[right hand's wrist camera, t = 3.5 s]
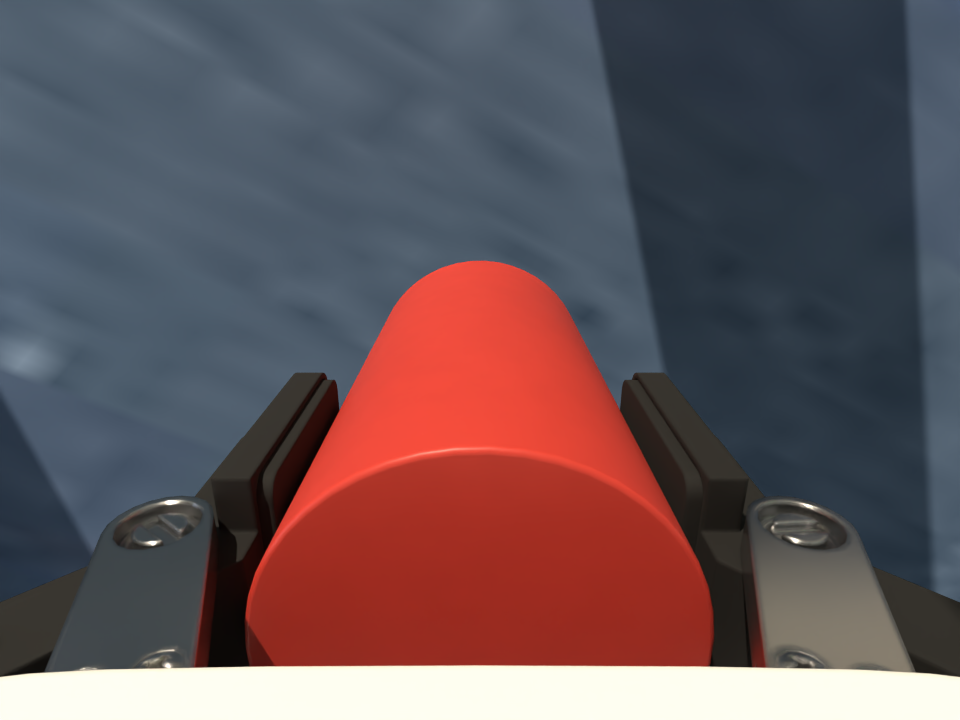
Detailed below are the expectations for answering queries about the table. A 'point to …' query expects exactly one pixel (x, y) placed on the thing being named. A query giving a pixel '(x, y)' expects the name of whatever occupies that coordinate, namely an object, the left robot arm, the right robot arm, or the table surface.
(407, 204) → the table surface
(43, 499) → the table surface
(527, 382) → the can
